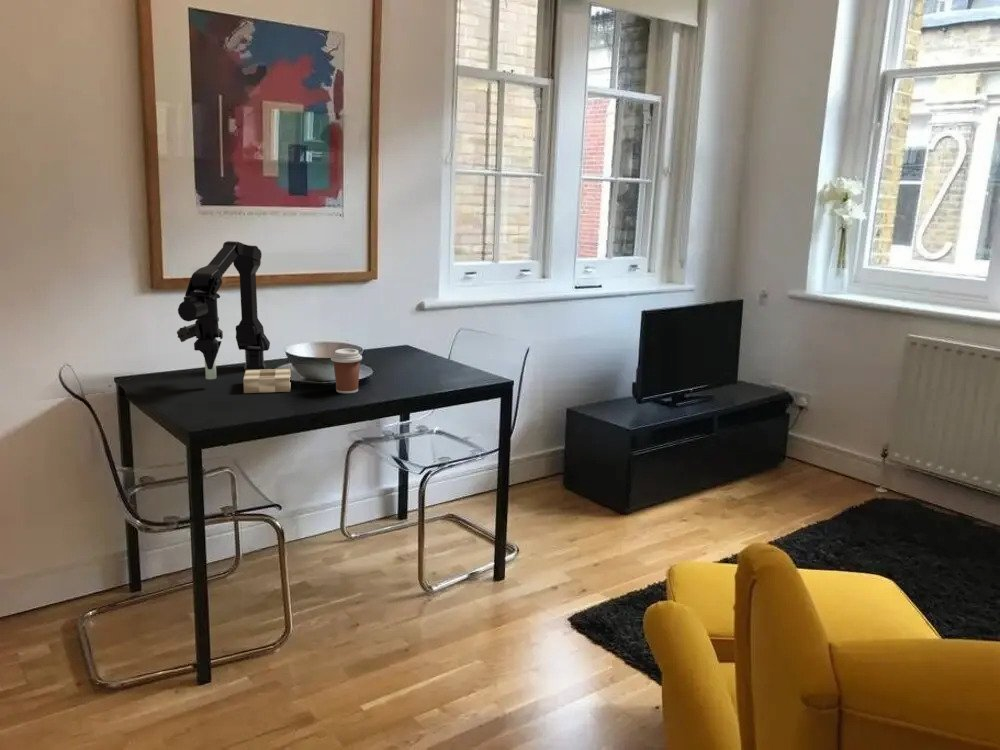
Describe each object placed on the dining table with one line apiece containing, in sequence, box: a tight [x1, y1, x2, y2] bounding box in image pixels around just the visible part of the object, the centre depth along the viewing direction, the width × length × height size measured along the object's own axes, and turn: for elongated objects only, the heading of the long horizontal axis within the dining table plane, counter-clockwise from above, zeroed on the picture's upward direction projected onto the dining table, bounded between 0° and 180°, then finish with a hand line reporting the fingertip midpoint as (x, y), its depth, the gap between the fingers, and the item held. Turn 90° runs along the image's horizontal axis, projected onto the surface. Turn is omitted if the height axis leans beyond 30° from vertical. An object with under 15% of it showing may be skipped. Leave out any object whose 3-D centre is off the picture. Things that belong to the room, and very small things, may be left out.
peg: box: [204, 358, 217, 380], centre depth 246 cm, size 3×3×9 cm
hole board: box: [242, 368, 292, 394], centre depth 250 cm, size 12×13×4 cm
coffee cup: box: [330, 348, 363, 394], centre depth 248 cm, size 9×9×12 cm
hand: (210, 367), depth 246 cm, fingers closed on peg, 3 cm apart
